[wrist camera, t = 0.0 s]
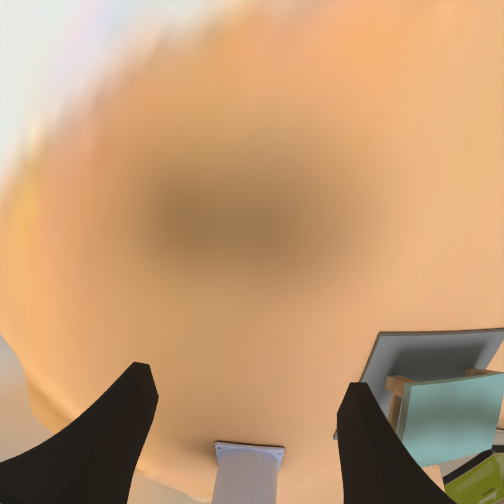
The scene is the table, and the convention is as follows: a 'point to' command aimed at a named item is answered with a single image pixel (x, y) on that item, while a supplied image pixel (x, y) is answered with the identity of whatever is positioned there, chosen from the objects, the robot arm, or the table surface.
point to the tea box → (477, 475)
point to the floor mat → (427, 358)
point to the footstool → (446, 414)
